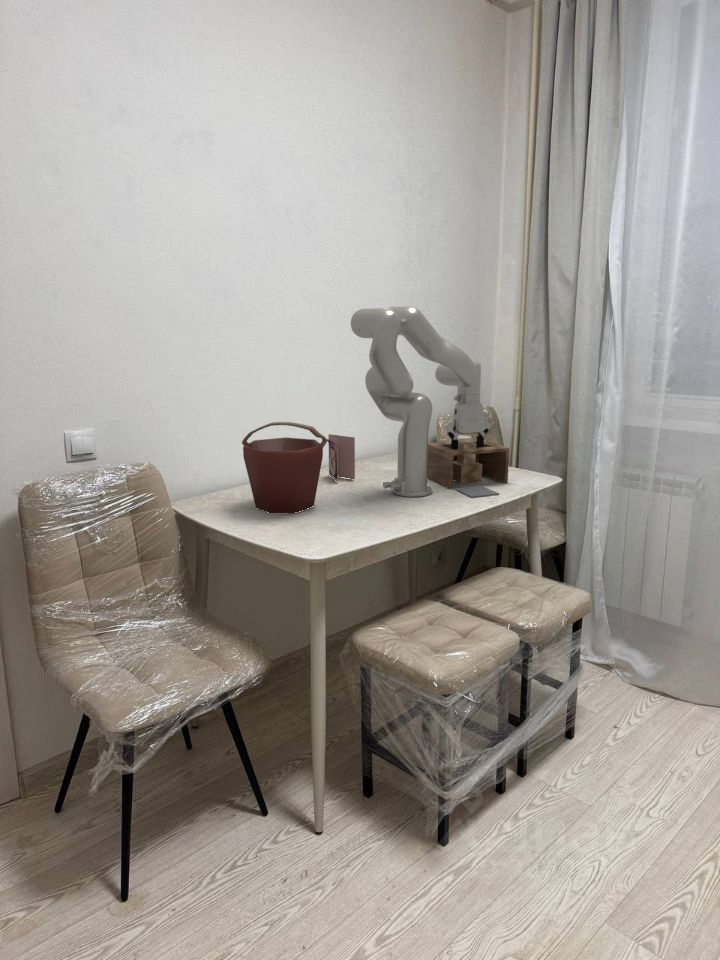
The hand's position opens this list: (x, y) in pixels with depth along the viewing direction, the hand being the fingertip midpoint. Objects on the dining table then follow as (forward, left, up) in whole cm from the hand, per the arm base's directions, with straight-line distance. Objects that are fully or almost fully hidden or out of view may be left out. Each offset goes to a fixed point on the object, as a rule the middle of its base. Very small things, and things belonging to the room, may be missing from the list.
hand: (467, 449), depth 226 cm
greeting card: (-39, +17, -11) cm, 44 cm away
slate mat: (-5, -16, -11) cm, 20 cm away
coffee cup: (+7, +16, -11) cm, 20 cm away
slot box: (0, 0, -11) cm, 11 cm away
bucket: (-66, -9, -11) cm, 68 cm away
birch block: (0, 0, -5) cm, 5 cm away
